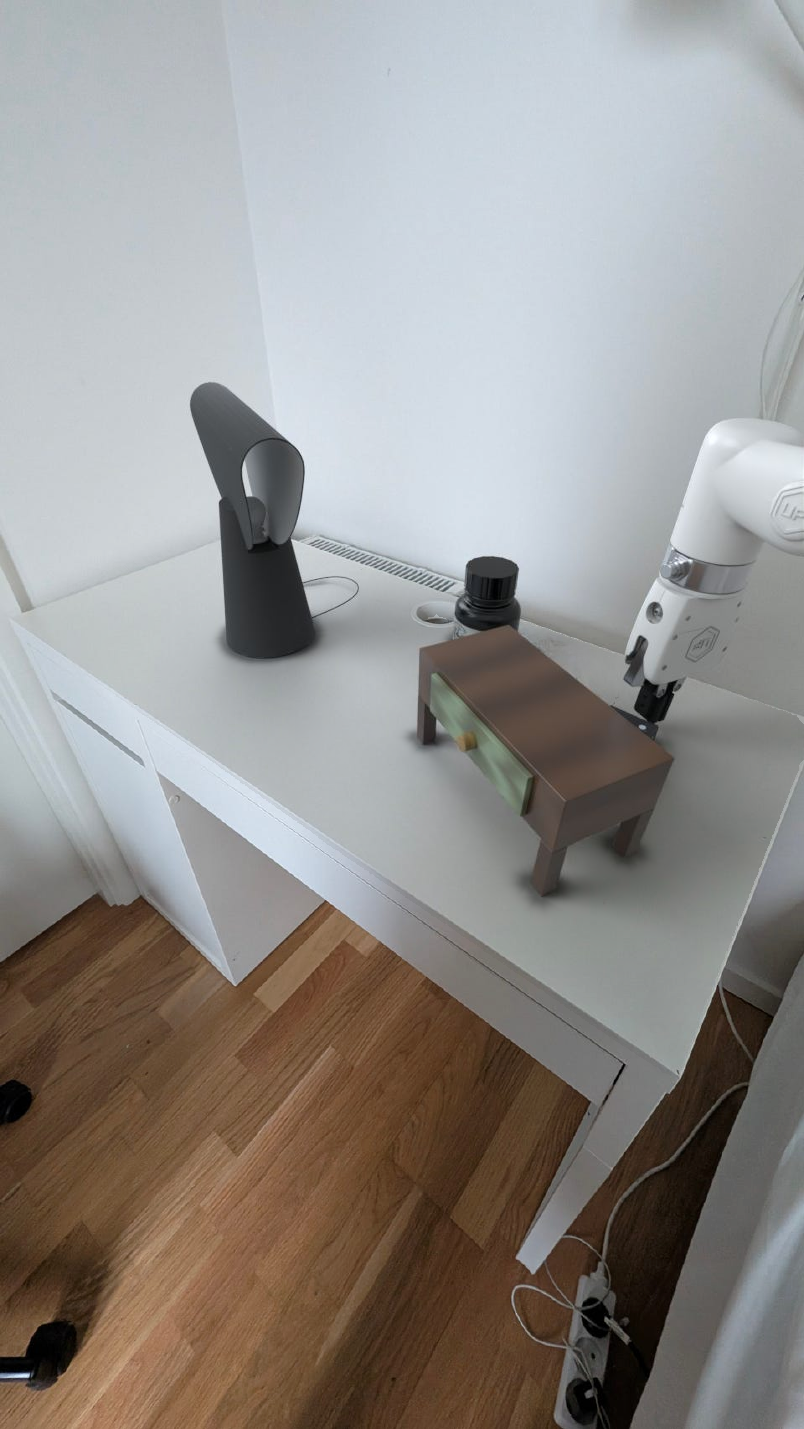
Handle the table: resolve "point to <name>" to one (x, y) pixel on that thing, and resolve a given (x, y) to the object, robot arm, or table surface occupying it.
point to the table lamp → (255, 525)
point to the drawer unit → (541, 743)
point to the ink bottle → (487, 597)
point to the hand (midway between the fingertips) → (648, 715)
